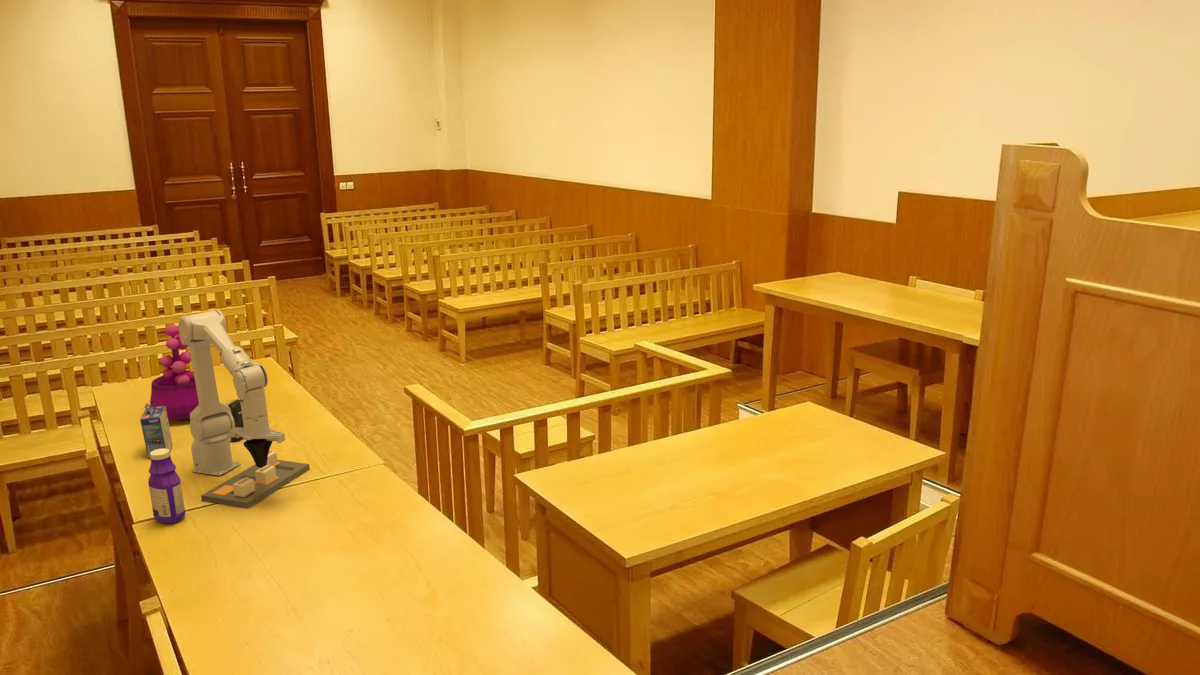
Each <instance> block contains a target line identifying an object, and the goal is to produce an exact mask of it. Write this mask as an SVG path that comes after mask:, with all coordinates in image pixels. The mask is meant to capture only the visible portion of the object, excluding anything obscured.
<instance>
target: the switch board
mask: <svg viewBox="0 0 1200 675" xmlns="http://www.w3.org/2000/svg"><path fill="white" fill-rule="evenodd" d="M277 461H278V463H276V464H274V465H273V466H275V469H276V478H275V479H273V480H271V481H270V482H268V483H266V484H265V483H258V482H256V475H255V471H257V470H258V469H260V468H257V466H256V464H255V463H254V464H253V465H252V466H250V467H248V468H246V469H245V470H243V471H241V472H239V473H237V474H236V475H234V476H232V477H231V478H229V479H227V480H226V481H224V482H222V483H220V484H218V485H217V486H215V487H213V488H211V489H210V490H208V491H206V492H204V493H202V494H201V495H200V499H201V502H205V501H206V502H208V503H211V502H212V503H213V504H217V503H218V504H219V505H223V504H224V506H230V507H236V508H242V507H243V509H249V508H252V507H253V506H254V505H255V504H257V503H260V502H261V501H262V500H263V499H265V498H267V497H269V495H271V494H273V493H274V492H276V491H278V490H280V489H281V488H283V487H284V486H286V485H288V484H289V483H290V482H292V481H293V480H296V479H297V478H298V477H300V476H301V475H303V474H305V473H306V472H308V471H309V470H310V467H311V466H310V464H309V463H305V462H304V463H302V462H298V461H297V462H296V461H289V460H283V459H277ZM245 477H249V479H254V484H255V491H253V492H252V493H250V494H248V495H247V496H245V497H240V496H234V490H233V484H234V483H236V482H238V481H239V480H241V479H243V478H245ZM206 502H205V503H206Z"/></svg>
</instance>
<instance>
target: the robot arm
mask: <svg viewBox="0 0 1200 675" xmlns="http://www.w3.org/2000/svg"><path fill="white" fill-rule="evenodd" d="M177 325H178V326H177V327H178V329H179V335H180V337H181V341H182V344H183V345H188V346H189V347H188V350H189V352H190V355H191V365H192V366H191V367H192V371H193V372H194V378H195V383H196V389H197V394H198V400H199V405H198V406H197V407H196V408H195V409H194V410H193V411H192V412H191V413H190V419H189V421H190V423H189V432H190V434H191V436H192V438H193V441H192V443H191V456H192V462H193V469H191V471H192V473H197V474H198V473H199V474H203V475H204V474H205V475H211V476H218V477H220V476H223V475H224V474H227V473H228V472H230V471H231V470H234V469H235V468H237V467H239V466H240V465H241V462H239V461H238V462H236V461H233V457H232V456H233V455H232V449H231V448H232V447H231V441H229V437H230V436H231V437H243V440H245V441H244V442H243V443H242V444H243V447H245V449H246V450H247V451H248V452H249V454H250V455H251V457H252V460H253V462H254V465H255V464H256V466H257V468H262V467H264V466H266V465H267V458H268V453H269V450H271V445H272V444H273V442H276V443H277V444H282V442H285V441H286V434H285V432H281V431H278V430H276V429H272V428H270V423H269V416H268V407H267V400H266V392H265V388H266V387H267V386H268V383H269V379H268V374H267V371H266V369H265V367H264V366H263V365H262V364H261V363H258V362H255V361H253V360H252V359H251V358H250V356H249V355H248V354H247V353H246V351H245V350H244V349H243V347H242V346H236V345H235V344H234V342H233V340H232V338H230V335H229V334H228V333H227V319H226V317H225V315H224V313H223V312H222V311H221V310H219V309H213V310H211V311H210V310H209V311H206V312H205V311H204V312H201V313H195V314H190V315H189V314H188V315H182V316H181V317H180V318H179V322H178V324H177ZM211 345H212V346H213V348H215V349H216V350H217V351H218V352H219V353H220V354H221V355H220V356H221V357H220V361H221V364H223V366H224V367H225V368H226V370H227V371H228V372H229V374H230V376H232V383H233V386H234V389H235V391H236V397H237V399H239V400H240V403H241V410H242V418H243V425H244V427H235V422H234V418H233V416H232V414H231V410H230V407H229V406H227V405H226V404H227V403H223V402H220V397H219V391H218V385H217V381H216V375H215V369H214V362H213V359H212V358H213V357H212V352H211Z"/></svg>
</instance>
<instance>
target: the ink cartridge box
mask: <svg viewBox="0 0 1200 675" xmlns="http://www.w3.org/2000/svg"><path fill="white" fill-rule="evenodd" d="M144 408H145V409H144V412H143V414H142V415H141V417H140V421H139V422H140V425H141V431H142V436H143V440H144V445H145V449H146V454H147V459H148V458H151V457H150V453H151V452H152V451H154V450H157V449H169V452H171V450H172V447H173V445H172V444H173V440H172V439H173V438H172V435H171V428H170V423H169V420H168V417H167V412H166V407H165V406H158V407H151V406H150V403H148V402H146V403H145V404H144Z"/></svg>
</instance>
